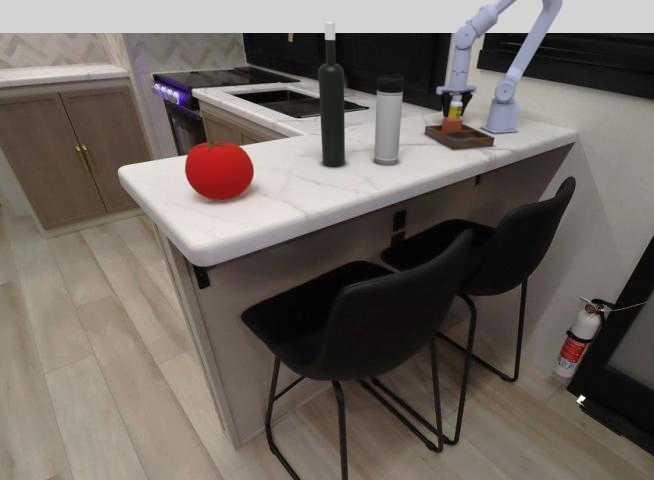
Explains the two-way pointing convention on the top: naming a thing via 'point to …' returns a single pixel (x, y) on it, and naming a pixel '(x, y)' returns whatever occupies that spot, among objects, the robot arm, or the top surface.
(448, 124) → the terracotta block
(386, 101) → the travel mug
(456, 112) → the supplement bottle
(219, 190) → the tomato
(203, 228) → the top surface
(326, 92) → the wine bottle
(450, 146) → the sorting tray
